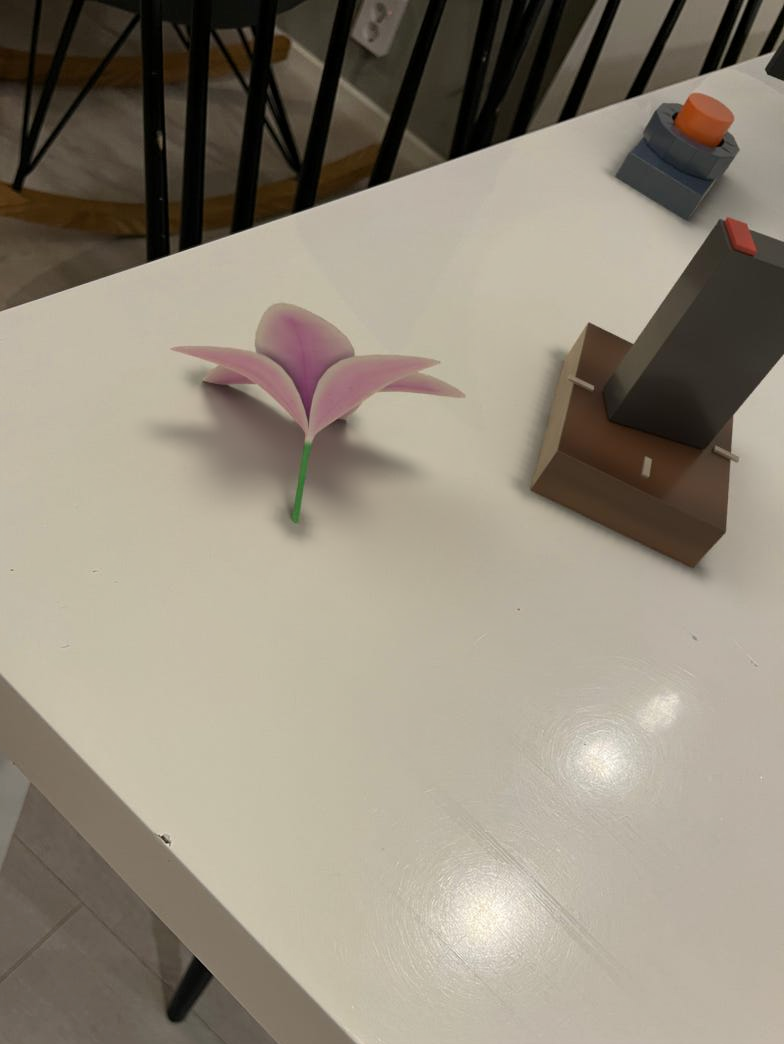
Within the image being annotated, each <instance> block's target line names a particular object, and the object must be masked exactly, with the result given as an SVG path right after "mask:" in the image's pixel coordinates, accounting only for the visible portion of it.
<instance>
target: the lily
mask: <svg viewBox="0 0 784 1044" xmlns="http://www.w3.org/2000/svg"><path fill="white" fill-rule="evenodd" d="M254 349H255V351H252V350H247V349H241V348H235V347H225V346H212V345H181V346H173V347H171V348H169V350H171V351H173V352H176V353H179V354H180V353H181V354H184V355H187V356H190V357H193V358H197V359H200V360H203V361H206V362H209V363H212V364H214V365H215V364H216V365H217V366H215V367H213V368H212V369H210V371H208V373H207V374H205V375H204V378H203V379H202V381H203V382H206V383H210V384H216V385H226V386H228V385H229V386H230V385H257V386H258V387H260V389H262V390H263V391H264V392H266V393H267V394H268V395H269V396H270V397H271V398H272V399H273V400H274V401H275V402H276V403H278V404H279V406H281V407H282V408H283V409H284V411H285V412H286V413H287V414H288V415H289V416H290V417H291V418H292V419H293V420H294V421H295V422H296V423H297V424H298V425H299V426H300V427H301V429H302V430H303V432H304V435H305V436H304V443H303V449H302V455H301V461H300V467H299V473H298V478H297V485H296V491H295V497H294V503H293V510H292V517H291V521H292V523H293V524H298V523H299V520H300V514H301V507H302V502H303V496H304V488H305V483H306V477H307V472H308V471H307V470H308V465H309V458H310V455H311V451H312V449H311V448H312V445H313V441H314V439H315V438H316V436H317V434H318V433H319V432H320V431H322V430H323V429H325V428H326V427H328V426H329V425H330V424H332V423H334V422H335V421H336V420H345V421H346V420H348V419H349V418H350V417H351V416H353V414H354V413H355V412H356V411H357V410H358V409H359V407H361V405H362V404H363V402H365V401H366V400H368V399H369V398H370V397H372V396H374V395H375V394H376V393H408V394H409V393H410V394H420V395H428V396H429V395H430V396H439V397H445V398H446V397H447V398H455V399H466V398H467V395H466V393H464V392H463V391H462V390H460V389H458V388H457V387H455V386H453V385H452V384H450V383H448V382H446V381H444V380H442V379H439V378H437V377H436V376H435V377H434V376H433V375H430V374H426V373H422V372H421V371H423V370H426V369H429V368H432V367H434V366H437V365H441V361H440V360H438V359H437V360H436V359H434V358H430V357H429V358H428V357H422V356H415V355H401V354H363V355H356V353H355V348H354V346H353V344H352V342H351V341H350V339H349V338H348V336H347V335H346V334H345V333H343V332H342V331H341V330H340V329H339V327H337V326H336V325H334V324H333V323H331V321H328V320H326V319H325V318H324V317H322V316H320V315H318V314H316V313H314V312H312V311H310V310H308V309H306V308H303V307H301V306H298V305H295V304H292V303H287V302H277V303H273V304H271V305H270V306H269V307H267V309H266V310H265V311H264V312H263V314H262V316H261V318H260V320H259V322H258V324H257V328H256V330H255V336H254Z"/></svg>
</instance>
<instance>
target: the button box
mask: <svg viewBox="0 0 784 1044" xmlns="http://www.w3.org/2000/svg"><path fill="white" fill-rule="evenodd" d="M683 105H684V104H682V103H678V102H675V103H674V102H662V103H661V104H660V105H659V106H658V107H657V108H655V111H654V113H653V114H652V116H651V117H650V119H649V121H648V122H647V124H646V126H645V128H644V130H643V131H642V134H643V137H642V138H641V139H640V140H638V142H637V143H636V144H635V145H634V147H632V148H631V150H630V151H629V152H628V154H627V155H626V157H625V159H624V160H623V162H622V164H621V166H620V167H619V169H618V171H617V172H616V174H615V176H614V177H615V178H616V179H618V180H619V181H621V182H622V183H623V184H625V185H627V186H628V187H631V188H632V189H634V190H635V191H636V192H638V193H640V194H641V195H644V196H645V197H647V198H648V199H650V200H652V201H653V202H655V203H656V204H658V205H659V206H661V207H663V208H664V209H666V210H668V211H669V212H671V213H673V215H676V216H678V217H679V218H680V219H683V220H684V221H685V222H688V220H689V219H690V218H691V216H692V215H693V214H694V212H695V211H696V209H697V208H698V207H699V206H700V204H701V202H702V201H703V200H704V198H705V197H706V195H707V194H708V193H709V192H710V189H712V187H713V185H714V184H716V182H717V181H718V180H721V179H722V177H723V176H724V174H725V173H726V172H727V170H728V169H729V168H730V165H731V164H732V163H733V161H734V160H735V158H736V157H737V155H738V154H739V153H740V150H741V149H740V147H739V145H738V142H737V140H736V139H735V136H734V135H733V134H732V133H731V132H730V131H729V130H728V131H727V133H726V134H725V136H724V137H723V139H722V140H721V142H720V143H719V145H718V146H717V147H710V146H707V145H704V144H701V143H698V142H696V141H695V140H693V139H692V138H690V137H688V136H687V135H685V134H684V133H682V132H681V131H680V130H679V129H678V128H677V127H676V126H675V124H674V120H675V118H676V117H677V115H678V113H679V112H680V110H681V108H682V107H683Z"/></svg>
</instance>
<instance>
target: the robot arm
mask: <svg viewBox="0 0 784 1044" xmlns="http://www.w3.org/2000/svg"><path fill="white" fill-rule="evenodd" d="M764 71H765V73H766V75H767V76H770V77H772V78H774V79H777V80H780V81H782V82H784V39H783V40H782V41H781V43H780V44H779V46H778V47H777V49H776V50H775V52H774V53H773V55H772V56H771V58H770V59H769V61H768V63H767V64H766V66H765V68H764Z"/></svg>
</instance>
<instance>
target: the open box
mask: <svg viewBox="0 0 784 1044" xmlns="http://www.w3.org/2000/svg"><path fill="white" fill-rule="evenodd" d="M783 356H784V241H783V240H780V239H777V238H775V237H772V236H770V235H766V234H764V233H761V232H758V231H755V230H752V229H750V228H749V226H748V223H745V222H743V221H741V220H738V219H735V218H732V217H729V216H727V217H726V218H725V219H722V218H719V219H718V220H717V222H716V223H715V225H714V226H713V228H712V230H710V232H709V234H708V235H707V236H706V238H705V239H704V241H703V242H702V243H701V245H700V247H699V248H698V250H697V251H696V252H695V254H694V255H693V257H692V259H691V260H690V261H689V262H688V264H687V265H686V267H685V269H684V270H683V271H682V273H681V274H680V276H679V277H678V279H677V280H676V282H674V284H673V286H672V287H671V289H670V290H669V292H668V293H667V294H666V296H665V298H664V299H663V301H662V302H661V303H660V304H659V306H658V307H657V309H656V311H655V312H654V313H653V315H652V316H651V318H650V319H649V320H648V322H647V324H646V325H645V326H644V328H643V329H642V330H641V332H640V334H639V335H638V336H637V338H636V340H635V341H634V343H633V345H632V347H631V348H630V350H629V351H628V353H627V354H626V356H625V357H624V359H623V360H622V361H621V363H620V364H619V366H618V367H617V369H616V370H615V372H614V373H613V375H612V376H611V377H610V379H609V380H608V382H607V383H606V385H605V386H604V388H603V392H604V397H605V402H606V408H607V413H608V419H609V421H613V422H616V423H619V424H622V425H626V426H629V427H632V428H635V429H639V430H642V431H645V432H649V433H652V434H655V435H658V436H662V437H665V438H668V439H671V440H675V441H678V442H681V443H684V444H688V445H691V446H694V447H698V448H701V449H706V448H707V446H708V445H709V444H710V443H711V442H712V440H713V439H714V438H715V437H716V436H717V434H718V433H719V432H720V431H721V430H722V428H723V427H724V426H725V425H726V424H727V422H728V421H729V420H730V419H731V418H732V416H733V417H734V415H735V414H736V413H737V412H738V411H739V409H740V408H741V407H742V406H743V404H744V403H745V402H746V401H747V400H748V398H749V397H751V395H752V393H754V391H755V390H756V389H757V388H758V386H759V385H760V384H761V383H762V382H763V380H765V378H766V377H767V376H768V374H769V373H770V372H771V371H772V369H774V367H775V366H776V365H777V363H778V362H779V361H780V360H781V359H782V358H783Z"/></svg>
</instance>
